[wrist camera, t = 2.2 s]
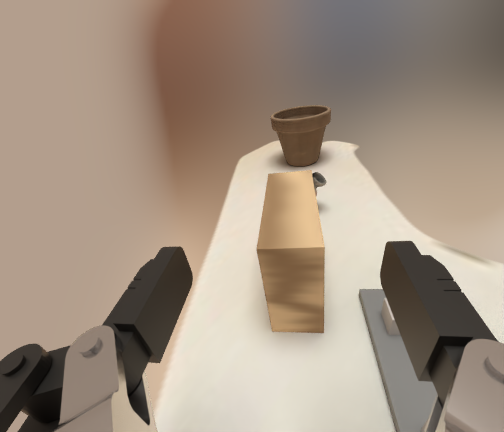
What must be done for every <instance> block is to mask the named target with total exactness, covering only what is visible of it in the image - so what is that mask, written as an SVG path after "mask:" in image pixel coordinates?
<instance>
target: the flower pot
mask: <svg viewBox="0 0 504 432" xmlns="http://www.w3.org/2000/svg"><path fill="white" fill-rule="evenodd" d="M330 119H331V109H330V108H329V107H327V106H321V105H313V106H312V105H311V106H300V107H294V108H289V109H285V110H281V111H279V112H276V113H274V114H273V115H272V116H271V123H272V128H273V130H274V131H277V134H278V137H279V140H280V143H281V146H282V149H283V152H284V155H285V158H286V161H287V163H288V164H290V165H293V166H307V165H310V164H313V163H315V162H316V161H317V160H318V157H319V153H320V149H321V145H322V140H323V136H324V131H325V127H326V125H327V124H329V122H330Z"/></svg>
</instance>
